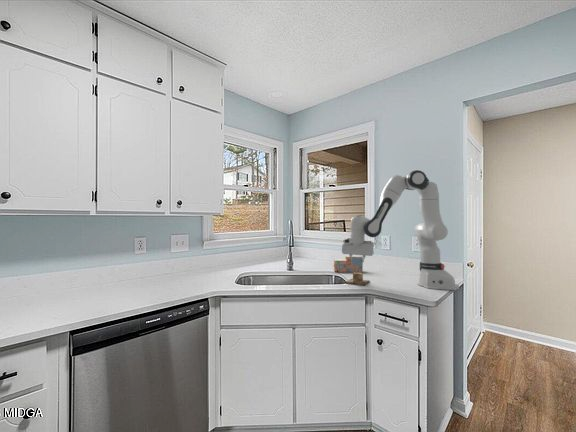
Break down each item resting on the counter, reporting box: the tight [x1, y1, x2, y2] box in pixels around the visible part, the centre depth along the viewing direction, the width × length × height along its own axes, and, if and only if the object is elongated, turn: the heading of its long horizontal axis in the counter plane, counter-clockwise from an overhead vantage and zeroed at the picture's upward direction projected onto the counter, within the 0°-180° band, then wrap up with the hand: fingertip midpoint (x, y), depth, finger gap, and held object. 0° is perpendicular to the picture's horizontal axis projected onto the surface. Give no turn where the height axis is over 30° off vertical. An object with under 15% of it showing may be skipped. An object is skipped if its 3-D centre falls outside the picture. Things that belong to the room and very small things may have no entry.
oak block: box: [352, 272, 364, 282], centre depth 191 cm, size 5×5×5 cm
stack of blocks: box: [333, 255, 364, 273], centre depth 232 cm, size 21×6×12 cm, turn 90°
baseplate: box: [345, 278, 370, 287], centre depth 191 cm, size 12×11×1 cm
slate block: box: [352, 255, 363, 266], centre depth 191 cm, size 5×5×5 cm
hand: (357, 261), depth 191 cm, fingers closed on slate block, 5 cm apart
